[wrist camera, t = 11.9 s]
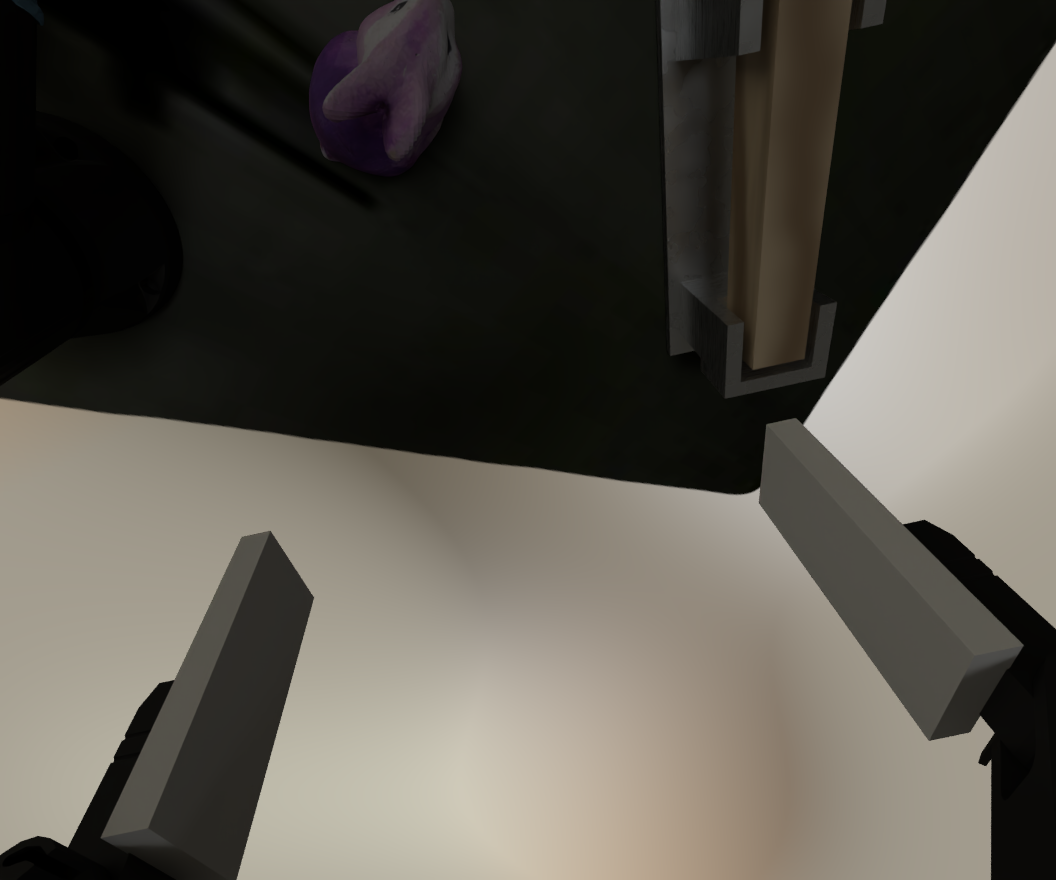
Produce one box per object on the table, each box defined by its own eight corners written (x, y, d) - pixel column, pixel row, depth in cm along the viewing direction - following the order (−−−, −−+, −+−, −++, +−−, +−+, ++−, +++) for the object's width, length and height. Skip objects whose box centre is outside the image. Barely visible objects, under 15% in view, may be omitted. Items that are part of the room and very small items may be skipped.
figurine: (465, 11, 35) (469, -26, 23) (453, 179, 41) (451, 222, 28) (315, -21, 33) (233, -80, 21) (324, 159, 39) (263, 195, 27)
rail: (725, 343, 44) (752, 369, 40) (739, -30, 31) (782, -47, 27) (772, 332, 44) (804, 358, 40) (806, -45, 31) (860, -65, 27)
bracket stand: (666, 351, 51) (712, 409, 42) (653, -68, 34) (725, -121, 25) (768, 329, 51) (835, 383, 42) (806, -102, 34) (933, -168, 25)
